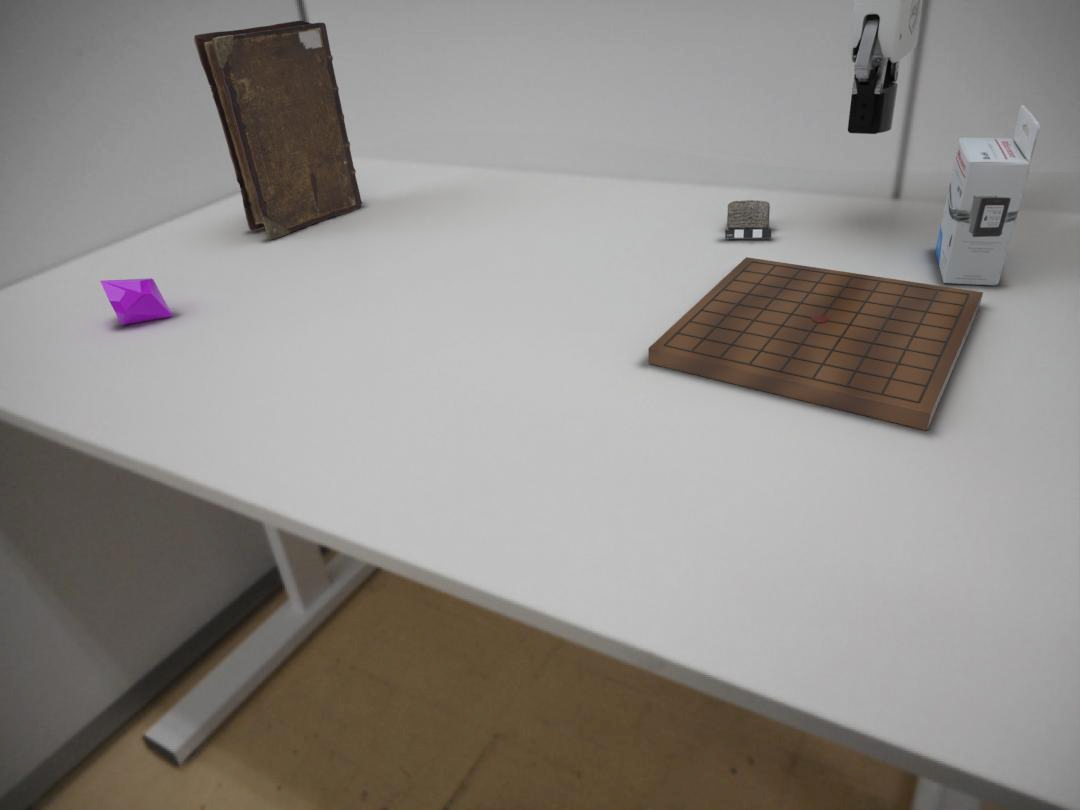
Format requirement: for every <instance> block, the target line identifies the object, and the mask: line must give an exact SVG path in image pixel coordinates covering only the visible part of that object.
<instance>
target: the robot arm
mask: <svg viewBox="0 0 1080 810" xmlns="http://www.w3.org/2000/svg"><path fill="white" fill-rule="evenodd" d="M922 8H923V0H853V3H852V9H851V18H850V25H849V35H848V49H847V56H848V59H849V60H850V62H852V63H853V64H854V66H853V71H854V74H853V77H854V78H853V82H852V88H851V98H850V106H849V114H848V116H849V117H848V121H847V123H848V125H847V132H848V133H849V134H860V135H861V134H863V135H877V134H879V133H878V132H879V131H880V127H881V120H882V113H883V106H884V98H885V93H882V89H883V84H884V81H887V82H894V83H897V81H898V78H899V69H900V60H902V59H903V58H905V57H906V56H907V55H909V54H910V53H911V52H913V51H914V49H916V47H917V46H918V42H919V35H920V29H921V28H920V26H921V20H922V19H921V18H922Z"/></svg>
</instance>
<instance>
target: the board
mask: <svg viewBox="0 0 1080 810" xmlns="http://www.w3.org/2000/svg"><path fill="white" fill-rule="evenodd" d="M983 294H984V292H983V291H977V290H969V289H964V288H956V287H949V286H944V285H937V284H929V283H923V282H916V281H909V280H903V279H902V280H901V279H896V278H889V277H882V276H875V275H869V274H863V273H862V274H861V273H855V272H849V271H843V270H835V269H828V268H821V267H817V266H815V267H814V266H809V265H803V264H796V263H788V262H781V261H774V260H767V259H761V258H754V257H748V256H746V257H745V258H743V260H742V261H741V262H740V263H738V264H737V265H736V266H735V267H734V268H733V269H732V270H730V271H729V272H728V274H726V275H725V276H724V277H723V278H722V279H721V280H720V281H719V282H717V284H716V285H715V286H714V287H713V288H712V289H710V290H709V292H707V293H706V294H705V295H704V296H703V297H702V298H700V300H699V301H697V302H696V303H695V304H694V305H693V306H692V307H691V308H690V309H689V310H688V311H686V313H685V314H684V315H682V316H681V317H680V318H679V319H678V320H677V321H676V322H675V323H673V325H671V327H670V328H668V329H667V330H666V331H665V332H664V333H663V334H661V336H660V337H659V338H658V339H657V340H655V342H653V344H651V345H650V346H649V347H648V349H647V350H648V364H649V365H653V366H659V367H662V368H667V369H671V370H673V371H679V372H682V373H683V372H684V373H687V374H691V375H696V376H700V377H703V378H707V379H712V380H716V381H720V382H723V383H728V384H733V385H737V386H742V387H745V388H749V389H753V390H758V391H762V392H766V393H770V394H775V395H779V396H783V397H787V398H791V399H795V400H798V401H804V402H807V403H811V404H814V405H815V404H816V405H819V406H824V407H828V408H833V409H836V410H841V411H844V412H849V413H853V414H856V415H861V416H865V417H870V418H873V419H878V420H882V421H886V422H890V423H895V424H899V425H903V426H905V427H906V426H907V427H910V428H914V429H915V428H916V429H919V430H924V431H928V429H929V427H930V425H931V422H932V420H933V418H934V415H935V413H936V411H937V408H938V406H939V403H940V401H941V400H942V399H941V398H942V397H943V394H944V392H945V390H946V388H947V385H948V382H949V380H950V378H951V375H952V372H953V370H954V367H955V365H956V364H957V362H958V359H959V357H960V354H961V352H962V349H963V347H964V344H965V342H966V340H967V337H968V335H969V333H970V330H971V328H972V326H973V323H974V321H975V319H976V317H977V314H978V311H979V309H980V307H981V303H982V299H983Z"/></svg>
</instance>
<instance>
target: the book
mask: <svg viewBox="0 0 1080 810" xmlns="http://www.w3.org/2000/svg"><path fill="white" fill-rule="evenodd" d="M193 43H194V45H195V48H196V51H197V55H198V58H199V61H200V64H201V66H202V68H203V71H204V74H205V76H206V80H207V82H208V85H209V88H210V92H211V93H212V98H213V101H214V104H215V107H216V110H217V114H218V117H219V120H220V123H221V128H222V131H223V134H224V138H225V141H226V145H227V149H228V152H229V156H230V160H231V162H232V166H233V169H234V174H235V178H236V182H237V183H238V185H239V188H240V194H241V198H242V205H243V211H244V214H245V219H246V222H247V227H248V229H249V231H250V232H253V231H256V230H259V229H262V228H264V230H265V234H266V237H267V239H268V240H274V239H276V238H280V237H283V236H286V235H289V234H290V233H293V232H295V231H298V230H300V229H303V228H306V227H309V226H311V225H313V224H316V223H319V222H322V221H325V220H328V219H330V218H333V217H336V216H341V215H345V214H348V213H351V212H354V211H356V210H358V209H359V208H360V207H361V206H362V204H363V202H362V198H361V193H360V189H359V185H358V181H357V176H356V173H357V171H356V169H355V166H354V161H353V157H352V152H351V143H350V141H349V137H348V132H347V127H346V123H345V115H344V112H343V107H342V102H341V97H340V93H339V91H340V90H339V89H340V88H339V86H338V83H337V78H336V73H335V68H334V64H333V59H334V56H333V55H332V52H331V48H330V47H331V46H330V41H329V37H328V30H327V25H326V24H325V22H313V23H311V22H309V21H305V20H294V21H287V22H282V23H276V24H271V25H264V26H263V25H262V26H257V27H256V26H255V27H250V28H244V29H233V30H224V31H213V32H206V33H199V34H195V35H194V36H193Z"/></svg>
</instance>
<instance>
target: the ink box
mask: <svg viewBox="0 0 1080 810" xmlns="http://www.w3.org/2000/svg"><path fill="white" fill-rule="evenodd" d="M1025 128H1027V130H1028V135H1027V134H1026V132H1025ZM1040 130H1041V124H1040V122H1039V121H1038V120H1037V119H1036V117H1035V116H1034V114H1032V112H1031V111H1030V110H1029V109H1028V108H1027V107H1026V105H1025V104H1021V106H1020V108H1019V111H1018V115H1017V120H1016V123H1015V129H1014V133H1013V137H959V140H958V145H957V148H956V153H955V158H954V163H953V166H952V167H953V168H952V171H951V175H950V181H949V185H948V186H949V187H948V189H947V195H946V199H945V203H944V204H945V205H944V209H943V214H942V218H941V222H940V227H939V232H938V237H937V241H936V246H935V255H936V259H937V263H938V267H939V271H940V275H941V278H942V282H943V283H944V284H955V285H956V284H959V285H976V286H977V285H979V286H998V285H999V284H1000V280H1001V276H1002V273H1003V269H1004V266H1005V265H1004V264H1005V261H1006V257H1007V254H1008V250H1009V247H1010V243H1011V240H1012V236H1013V233H1014V228H1015V224H1016V221H1017V217H1018V214H1019V209H1020V206H1021V203H1022V199H1023V196H1024V192H1025V188H1026V184H1027V181H1028V177H1029V173H1030V169H1031V165H1032V161H1033V157H1034V153H1035V149H1036V146H1037V142H1038V139H1039V136H1040V135H1039V134H1040Z"/></svg>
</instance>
